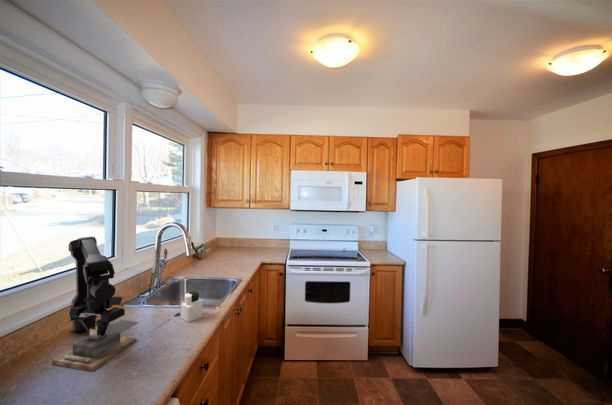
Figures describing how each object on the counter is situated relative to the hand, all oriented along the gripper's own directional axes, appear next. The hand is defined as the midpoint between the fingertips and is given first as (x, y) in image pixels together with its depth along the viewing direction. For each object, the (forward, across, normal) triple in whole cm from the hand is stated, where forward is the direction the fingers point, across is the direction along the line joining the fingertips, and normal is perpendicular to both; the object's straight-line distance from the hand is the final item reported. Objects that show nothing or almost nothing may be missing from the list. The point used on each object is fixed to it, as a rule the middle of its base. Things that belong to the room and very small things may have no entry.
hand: (97, 334), depth 90 cm
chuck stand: (+7, 0, 0) cm, 7 cm away
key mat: (+7, +8, -16) cm, 19 cm away
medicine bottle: (+7, -17, -31) cm, 36 cm away
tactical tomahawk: (+7, -10, -22) cm, 25 cm away
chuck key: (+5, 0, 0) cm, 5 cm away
